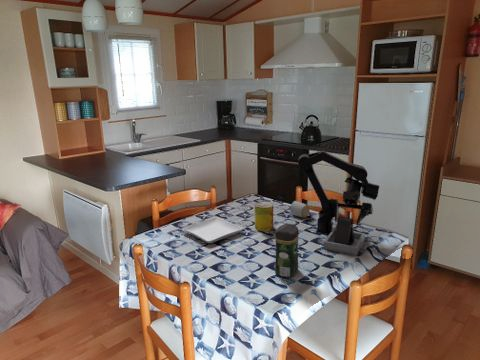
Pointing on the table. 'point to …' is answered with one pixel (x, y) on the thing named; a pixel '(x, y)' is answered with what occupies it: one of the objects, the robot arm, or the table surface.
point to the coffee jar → (286, 250)
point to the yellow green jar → (264, 216)
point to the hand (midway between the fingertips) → (346, 223)
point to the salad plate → (213, 229)
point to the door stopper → (344, 231)
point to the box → (342, 248)
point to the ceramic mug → (299, 209)
